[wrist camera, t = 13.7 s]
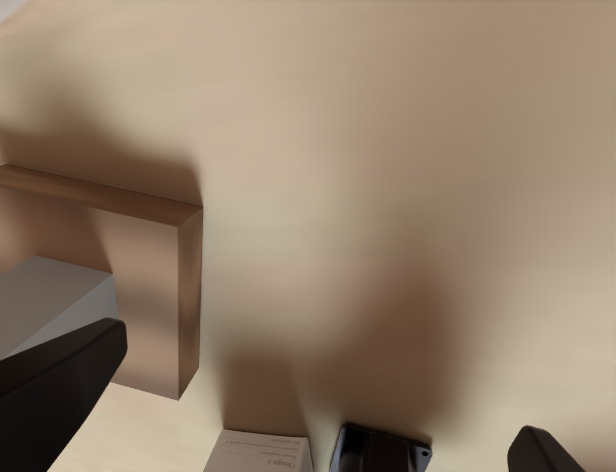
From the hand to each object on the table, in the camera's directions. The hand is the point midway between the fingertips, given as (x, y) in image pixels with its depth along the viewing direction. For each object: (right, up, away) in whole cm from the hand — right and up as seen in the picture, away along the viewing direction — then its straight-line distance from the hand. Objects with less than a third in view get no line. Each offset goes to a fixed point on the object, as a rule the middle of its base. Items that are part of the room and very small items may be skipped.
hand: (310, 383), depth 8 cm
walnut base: (-14, +1, +17) cm, 22 cm away
